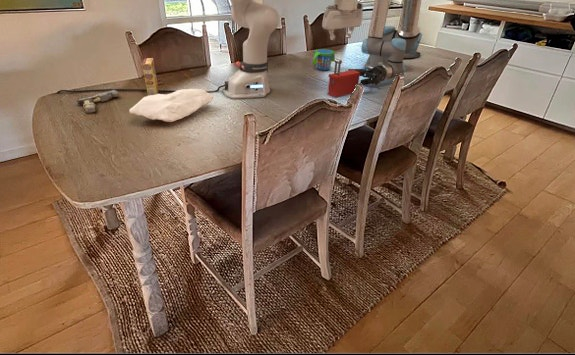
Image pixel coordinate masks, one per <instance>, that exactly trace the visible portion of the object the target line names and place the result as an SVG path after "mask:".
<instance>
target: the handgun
mask: <svg viewBox="0 0 575 355" xmlns="http://www.w3.org/2000/svg"><path fill="white" fill-rule="evenodd" d="M119 96H120V94H119V92H118V91H115V90H112V91H103V92H101V93H96V94H94V95H86V94H85V95H84V94H83V95H81V96H80V97H77V98H76V101H77V104H78V105H82V108H83V109H84V110H85V113H87V114H91V113H95V112H96V104H95V103H98V102H106V101H109V100H111V99H113V98H117V97H119Z"/></svg>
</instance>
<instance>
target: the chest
mask: <svg viewBox="0 0 575 355" xmlns="http://www.w3.org/2000/svg"><path fill="white" fill-rule="evenodd" d="M360 77H361V76H360V75H356V76H351V77H346V78H341V79H336V80H335V79H333V78H331V77H328V78H329V79H328V87H327V88H328V89H327V95H328V96H330V97H333V98H339V97H343V96H346V95H351V93H352V92H353V91H354V89H355V85H356V84H358V85H359V84H360ZM352 94H353V93H352Z"/></svg>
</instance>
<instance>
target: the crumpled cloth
mask: <svg viewBox="0 0 575 355" xmlns="http://www.w3.org/2000/svg"><path fill="white" fill-rule="evenodd" d="M174 91H175V92H170V93H167V94H163V93H158V94H156V95H150V96H148V95H146V96H144V97H142V98H141V99H140V100H139V101H138V102H137V103H136V104H134V105H133V106H132V107H131V108H129V114H130V115H135V116H140V117H145V118H146V119H149V120H152V121H155V120H158V121H163V122H166V123H174V122H176V121H178V120H181V119H183V118H185V117H188V116H190V115H192V114H193V113H195V112H196V111H197V110H199V109H200V108H202V107H204V106H206V105H207V104H210V102H211V101H212V100H213V99H214V98H213V97H214V96H213V94H212V93H208V92H206V90H203V89H201V88H187V89H186V88H185V89H184V88H183V89H177V90H174Z"/></svg>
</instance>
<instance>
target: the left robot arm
mask: <svg viewBox="0 0 575 355" xmlns="http://www.w3.org/2000/svg"><path fill="white" fill-rule="evenodd" d="M229 2H230V4H231V10H230V16H231V20H232V21H233V22H234V23H235V24H236V25H238V26H240V27H241V28H243V29H249V31H248V32H249V33H248V37H247V39H246V40H244V41H243V43H242V59H243V60H242V61H236V62H235V65H236V66H237V67H239V69H237V71H236V72H235V73H234V74H232V75H231V76H230V77H229V78H228V81H227V80H225V81H224V84H223V85H220V86H218V88H217V89H215V90H211V91H209V90H207V91H206V90H205V91H206V92H208V93H210V94H212V93H217V92H219V91H220V89H221V88H223V91H222V92H223V94H224V95H225V96H226V97H228V98H230V99H233V100H236V99H237V100H238V99H239V100H240V99H253V98H254V99H255V98H264V97H266V95H268V94H269V93H270V92H271V88H270V84H269V78H268V76H269V75H268V72H269V61H268V45H269V40H270V37H271V35H272V33H273V32H274V31H275V30H276V29H277V28H278V26H279V23H280V15H279V12H278V10H277V9H276V8H274V7H273V6H270V5H269V4H265V3H260V2H256V0H229ZM363 9H364V4H363V3H362V2H360V1H358V0H333V5H327V7H325V9H324V12H323V16H322V18H323V19H322V23H321V28H322V29H324V30H326V31H328V33H329V40H331V41H335V40H336V35H335V30H340V29H341V30H342V29H348V31H347V33H345V38H346V39H351V38H352V33H353V32H354V30H355V28H359V27H361V26H362V23H363ZM112 90H115V91H117V92H118V91H120V92H121V91H123V92H124V91H128V92H129V91H137V92H147V88H146V89H145V88H143V89H141V88H140V89H139V88H102V89H101V88H99V89H98V88H97V89H84V90H83V89H80V90H69V89H59V90H57V91H56V93H55V94H57V95H58V94H59V93H62V92H66V93H85V92H86V93H87V92H108V91H112ZM158 90H159V92H161V93H162V92H163V93H173V92H175V91H176V90H167V89H166V90H165V89H158ZM159 92H158V93H159Z"/></svg>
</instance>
